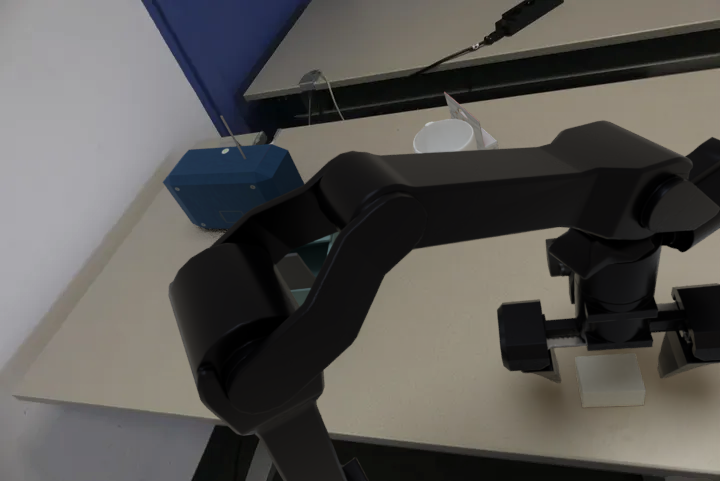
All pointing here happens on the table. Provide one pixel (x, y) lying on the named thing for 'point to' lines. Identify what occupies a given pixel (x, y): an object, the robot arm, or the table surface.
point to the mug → (445, 137)
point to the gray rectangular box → (610, 380)
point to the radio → (230, 181)
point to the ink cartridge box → (482, 137)
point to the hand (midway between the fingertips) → (608, 376)
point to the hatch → (295, 272)
